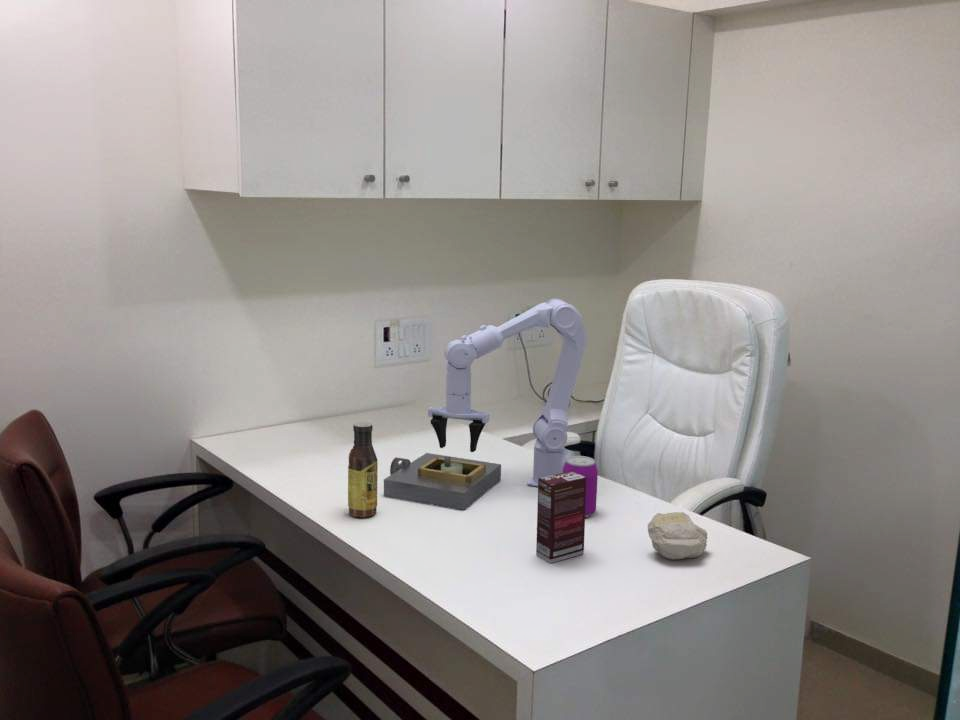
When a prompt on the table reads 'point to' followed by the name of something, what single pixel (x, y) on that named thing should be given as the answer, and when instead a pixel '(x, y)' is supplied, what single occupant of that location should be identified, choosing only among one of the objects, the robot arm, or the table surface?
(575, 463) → the beverage can
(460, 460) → the grey panel with frame
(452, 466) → the spout can
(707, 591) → the table surface
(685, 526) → the beige lumpy stone
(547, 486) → the supplement box
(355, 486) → the sauce bottle
